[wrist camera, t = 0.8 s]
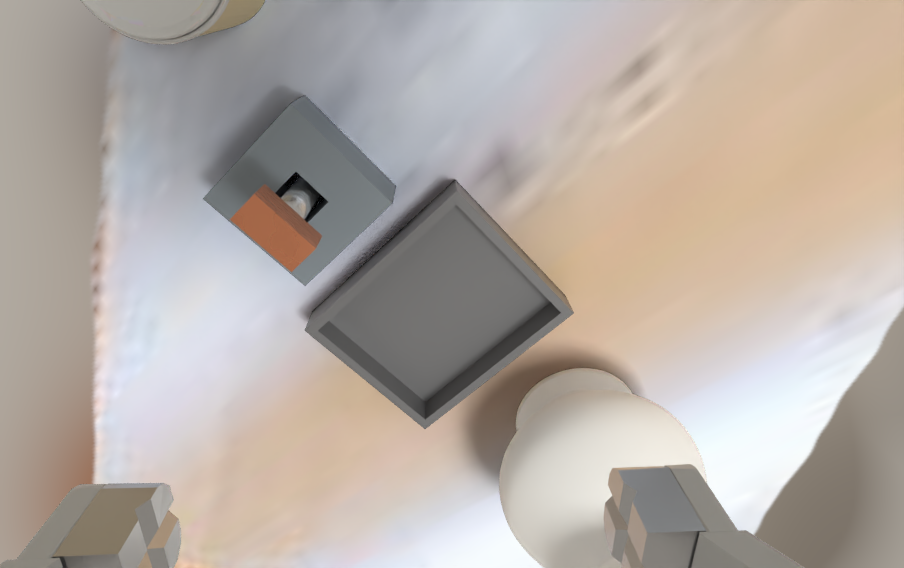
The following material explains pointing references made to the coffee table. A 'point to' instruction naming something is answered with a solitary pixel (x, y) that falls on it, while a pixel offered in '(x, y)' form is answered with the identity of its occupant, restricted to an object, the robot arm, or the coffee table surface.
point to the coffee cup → (172, 17)
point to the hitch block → (309, 180)
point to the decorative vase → (580, 462)
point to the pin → (281, 222)
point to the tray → (439, 308)
